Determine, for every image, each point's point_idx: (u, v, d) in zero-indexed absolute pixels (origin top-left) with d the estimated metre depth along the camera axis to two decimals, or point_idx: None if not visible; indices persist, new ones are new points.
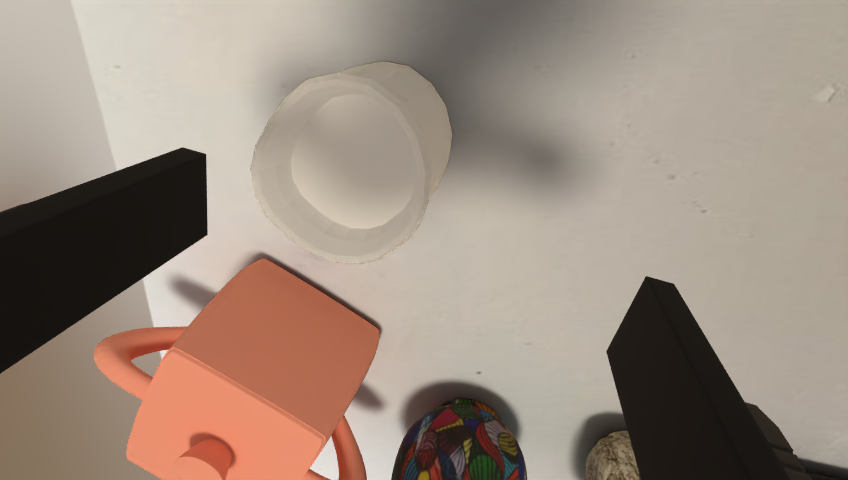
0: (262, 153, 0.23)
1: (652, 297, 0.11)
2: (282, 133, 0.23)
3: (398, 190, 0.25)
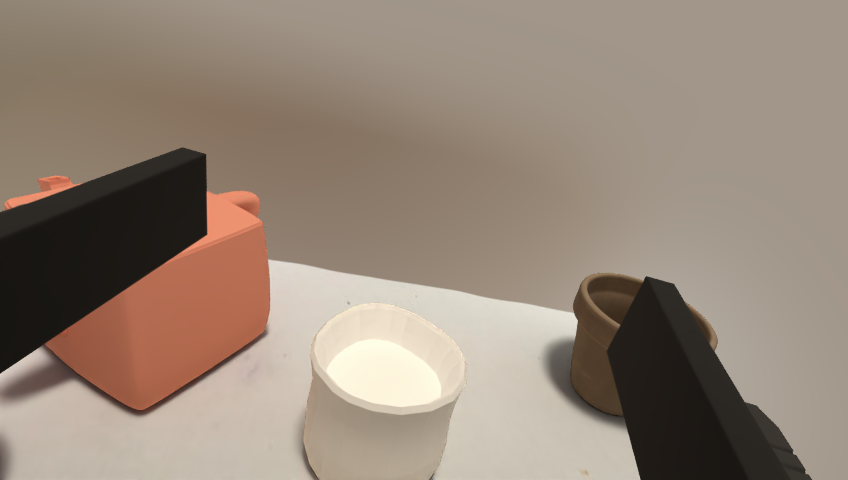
0: (405, 315, 0.32)
1: (652, 297, 0.11)
2: (416, 332, 0.32)
3: None
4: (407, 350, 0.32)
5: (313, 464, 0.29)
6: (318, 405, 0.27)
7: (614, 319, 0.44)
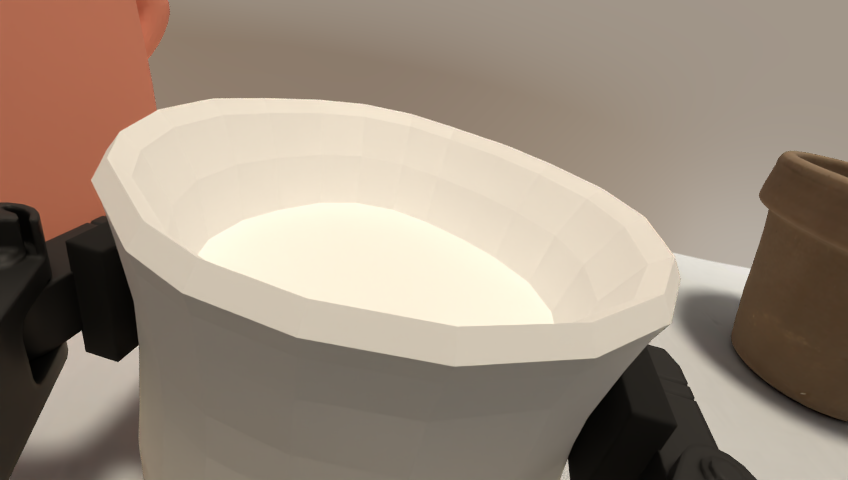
0: (441, 137, 0.12)
1: None
2: (472, 176, 0.12)
3: None
4: (445, 230, 0.12)
5: None
6: (140, 342, 0.08)
7: None
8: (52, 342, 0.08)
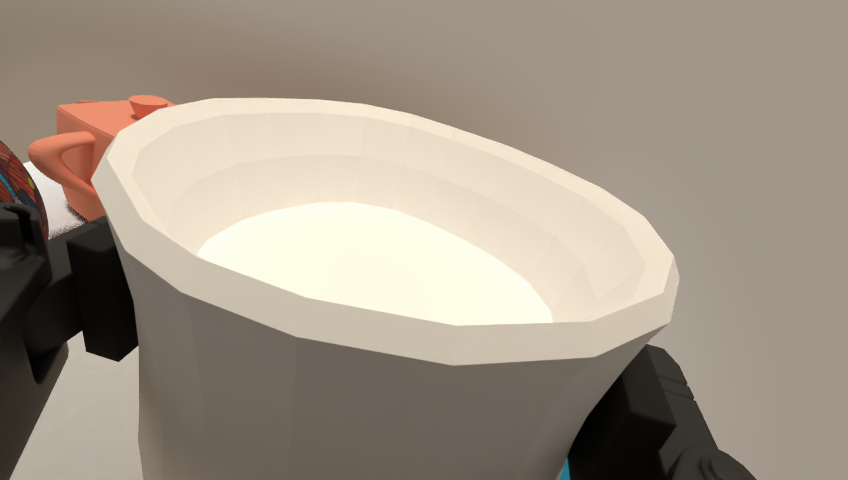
0: (441, 137, 0.12)
1: None
2: (472, 175, 0.12)
3: None
4: (444, 230, 0.12)
5: None
6: (140, 342, 0.08)
7: None
8: (53, 342, 0.08)
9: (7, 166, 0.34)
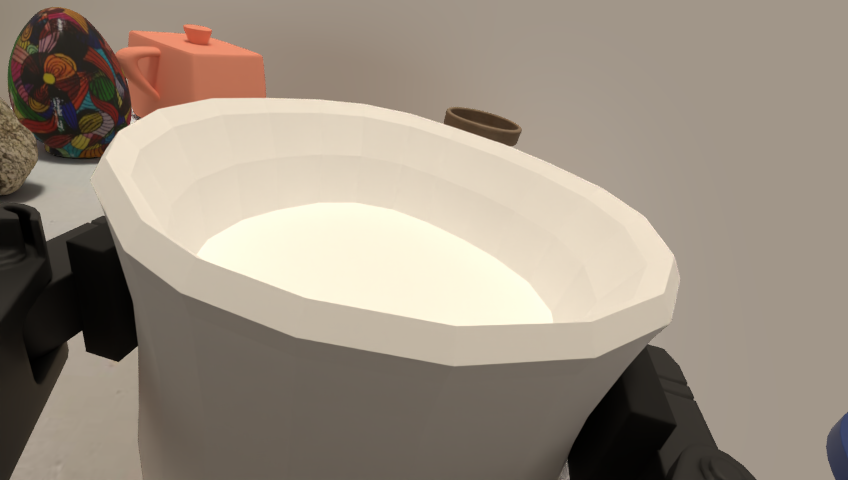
0: (441, 137, 0.12)
1: None
2: (472, 175, 0.12)
3: None
4: (444, 230, 0.12)
5: None
6: (138, 343, 0.08)
7: None
8: (53, 342, 0.08)
9: (110, 54, 0.48)
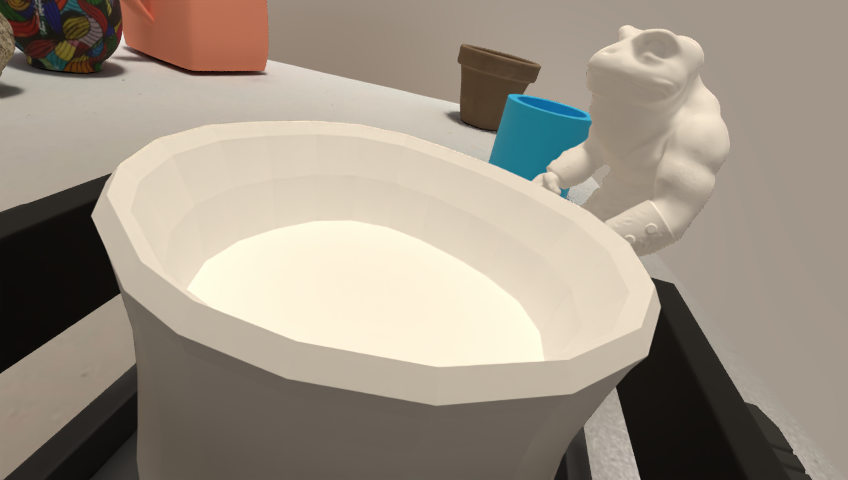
0: (434, 157, 0.13)
1: None
2: (465, 196, 0.12)
3: None
4: (437, 248, 0.13)
5: None
6: (138, 367, 0.08)
7: None
8: None
9: None
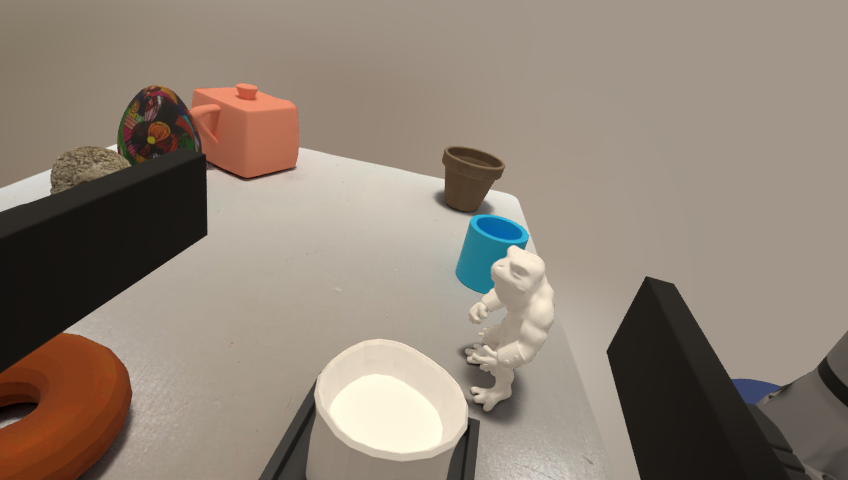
0: (409, 352, 0.33)
1: (652, 297, 0.11)
2: (420, 369, 0.32)
3: None
4: (410, 386, 0.33)
5: None
6: (320, 444, 0.28)
7: None
8: None
9: (191, 118, 0.64)
